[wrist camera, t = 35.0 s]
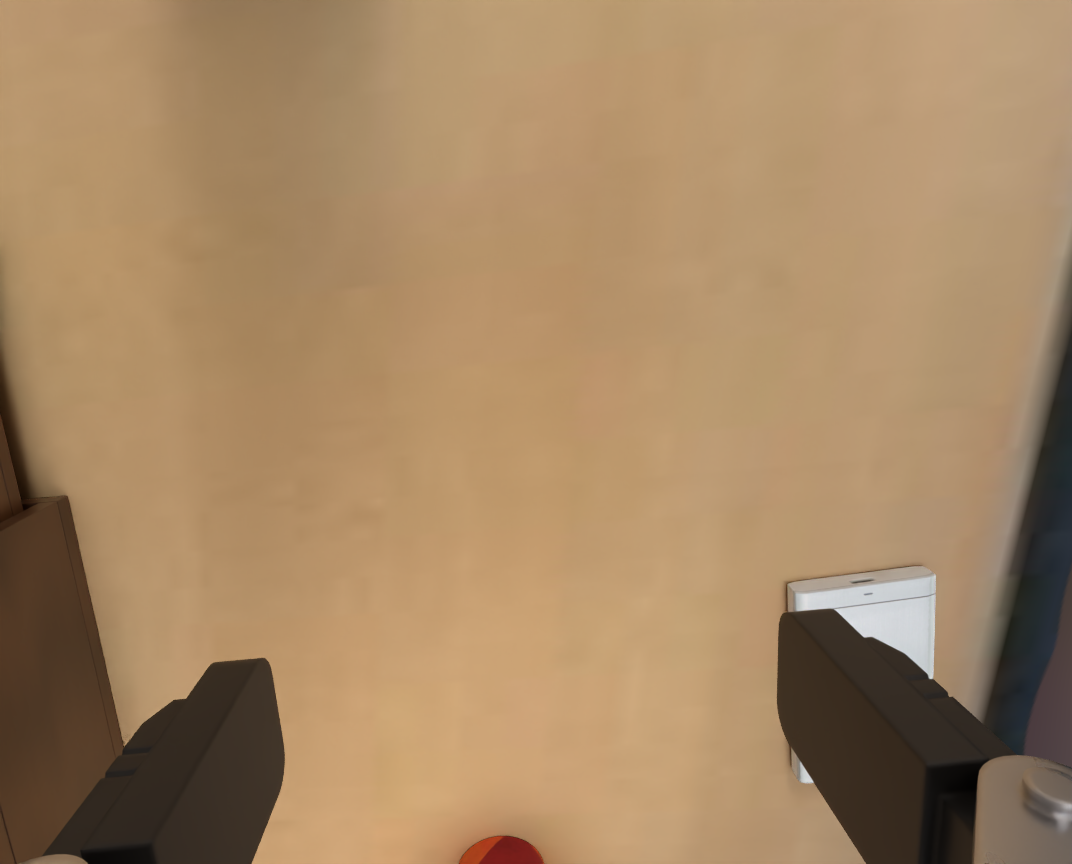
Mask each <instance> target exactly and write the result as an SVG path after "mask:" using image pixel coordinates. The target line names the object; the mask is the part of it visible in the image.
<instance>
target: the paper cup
mask: <svg viewBox="0 0 1072 864" xmlns="http://www.w3.org/2000/svg"><path fill="white" fill-rule="evenodd" d="M459 864H544V862H543V859H542V857H541V855H540V854H539V852H538V851H537V850H536V849H535V848H534V847H533V846H532V845H531V844H529V843H528V842H526V841H524V840H522V839H519V838H515V837H509V836H497V837H491V838H488V839H485V840H482V841H480V842H478V843H476V844H475V845H473V846H472V847H471V848H470V849H468V850H467V852H466V853H465V854H464V855H463V857H462V858H461V860H460V862H459Z"/></svg>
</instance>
